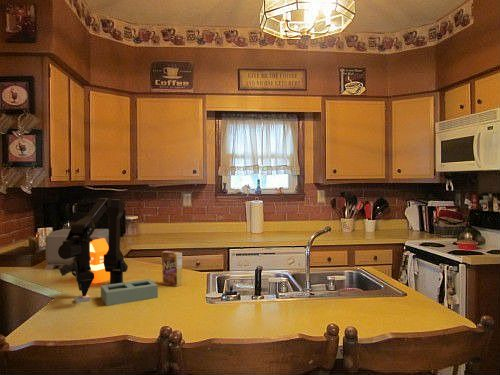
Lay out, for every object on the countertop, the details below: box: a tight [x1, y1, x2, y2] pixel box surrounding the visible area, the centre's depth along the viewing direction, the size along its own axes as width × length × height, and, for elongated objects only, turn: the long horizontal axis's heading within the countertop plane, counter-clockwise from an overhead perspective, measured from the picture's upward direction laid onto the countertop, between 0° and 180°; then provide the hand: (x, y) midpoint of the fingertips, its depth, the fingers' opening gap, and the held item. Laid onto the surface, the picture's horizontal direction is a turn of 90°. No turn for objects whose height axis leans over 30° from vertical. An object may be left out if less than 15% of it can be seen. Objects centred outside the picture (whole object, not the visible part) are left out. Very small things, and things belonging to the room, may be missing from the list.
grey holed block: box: [100, 278, 159, 307], centre depth 155 cm, size 12×20×5 cm, turn 122°
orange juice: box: [90, 238, 110, 284], centre depth 183 cm, size 8×9×20 cm
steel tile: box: [74, 294, 91, 304], centre depth 151 cm, size 4×5×2 cm
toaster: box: [43, 228, 109, 271], centre depth 216 cm, size 19×35×20 cm, turn 90°
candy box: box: [161, 250, 183, 288], centre depth 175 cm, size 9×4×15 cm, turn 60°
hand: (82, 293), depth 151 cm, fingers open, 9 cm apart
